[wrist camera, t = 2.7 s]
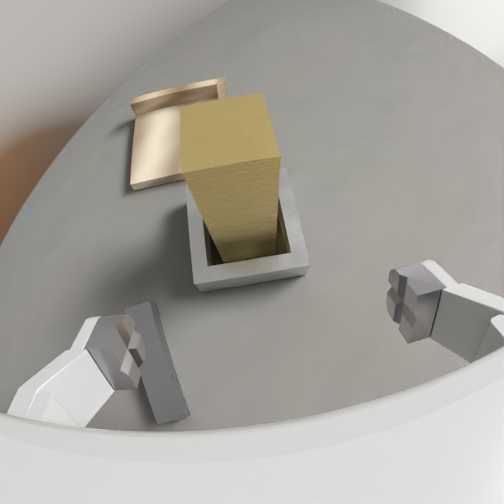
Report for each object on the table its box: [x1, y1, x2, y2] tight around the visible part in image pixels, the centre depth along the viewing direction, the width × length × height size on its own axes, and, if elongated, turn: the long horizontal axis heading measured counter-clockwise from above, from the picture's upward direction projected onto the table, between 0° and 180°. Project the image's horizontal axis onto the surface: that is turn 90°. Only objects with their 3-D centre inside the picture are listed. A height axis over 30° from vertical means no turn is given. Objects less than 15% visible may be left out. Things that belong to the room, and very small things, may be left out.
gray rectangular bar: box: [124, 301, 190, 424], centre depth 23 cm, size 10×2×2 cm, turn 19°
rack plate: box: [130, 78, 228, 190], centre depth 29 cm, size 11×11×3 cm
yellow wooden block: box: [180, 93, 281, 263], centre depth 20 cm, size 4×4×14 cm
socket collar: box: [186, 168, 310, 292], centre depth 25 cm, size 9×9×3 cm
